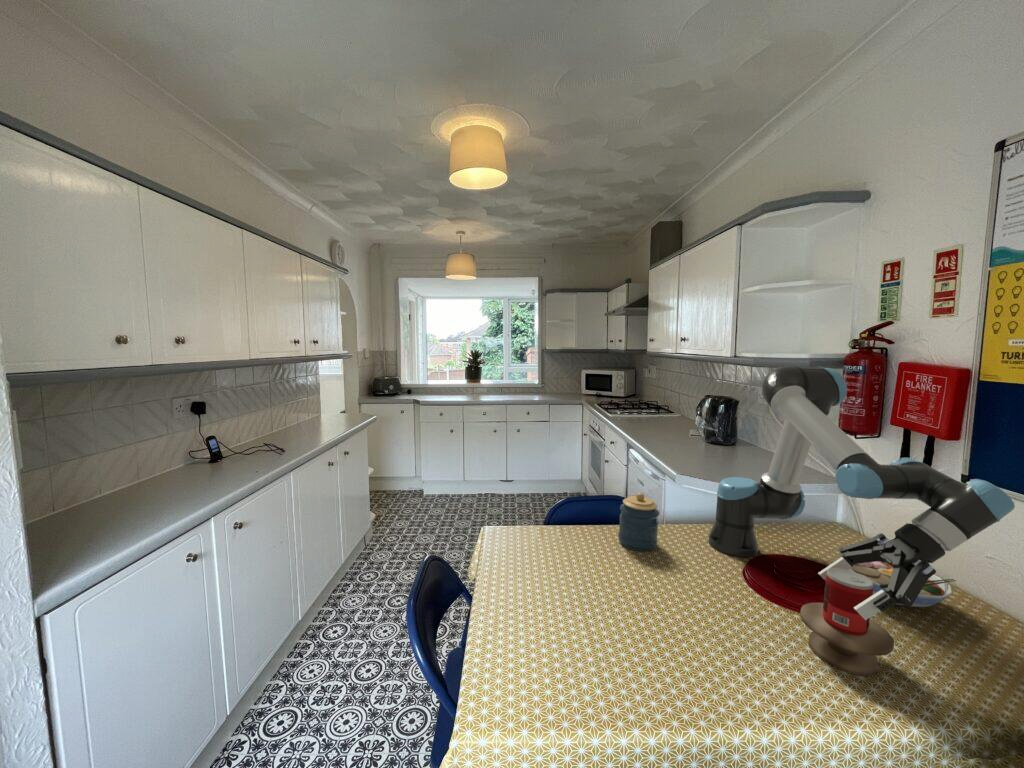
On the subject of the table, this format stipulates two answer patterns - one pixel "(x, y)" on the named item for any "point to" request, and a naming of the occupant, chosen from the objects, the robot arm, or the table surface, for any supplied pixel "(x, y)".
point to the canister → (638, 523)
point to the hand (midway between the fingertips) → (839, 594)
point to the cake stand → (846, 643)
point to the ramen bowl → (928, 596)
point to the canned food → (846, 600)
